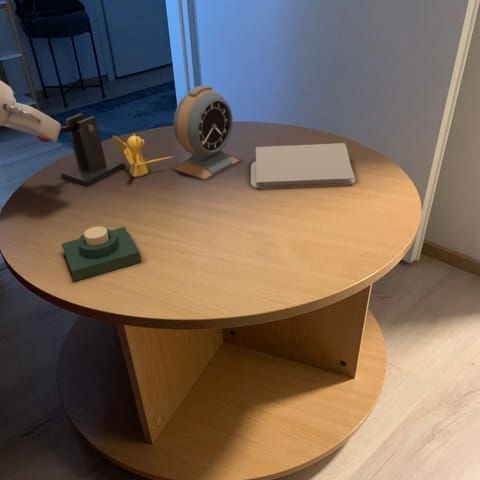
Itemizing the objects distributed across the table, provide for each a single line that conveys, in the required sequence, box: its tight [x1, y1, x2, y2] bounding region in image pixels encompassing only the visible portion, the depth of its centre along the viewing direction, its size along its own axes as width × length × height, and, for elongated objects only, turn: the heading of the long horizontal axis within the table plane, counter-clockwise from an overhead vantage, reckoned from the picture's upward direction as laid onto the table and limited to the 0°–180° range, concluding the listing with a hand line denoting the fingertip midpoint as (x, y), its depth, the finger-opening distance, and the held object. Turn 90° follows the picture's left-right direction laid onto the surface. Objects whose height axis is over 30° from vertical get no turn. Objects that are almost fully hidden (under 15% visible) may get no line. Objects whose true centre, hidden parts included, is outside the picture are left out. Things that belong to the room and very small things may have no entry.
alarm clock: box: [173, 85, 241, 181], centre depth 115 cm, size 14×10×18 cm
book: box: [250, 142, 356, 190], centre depth 113 cm, size 15×23×4 cm, turn 89°
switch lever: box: [35, 118, 85, 143], centre depth 110 cm, size 13×4×4 cm, turn 144°
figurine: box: [111, 132, 175, 178], centre depth 117 cm, size 12×12×9 cm
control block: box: [61, 226, 143, 282], centre depth 91 cm, size 12×10×4 cm
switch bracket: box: [60, 112, 126, 187], centre depth 117 cm, size 12×9×13 cm
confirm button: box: [83, 226, 109, 246], centre depth 89 cm, size 4×4×2 cm
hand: (48, 135), depth 108 cm, fingers closed on switch lever, 3 cm apart
